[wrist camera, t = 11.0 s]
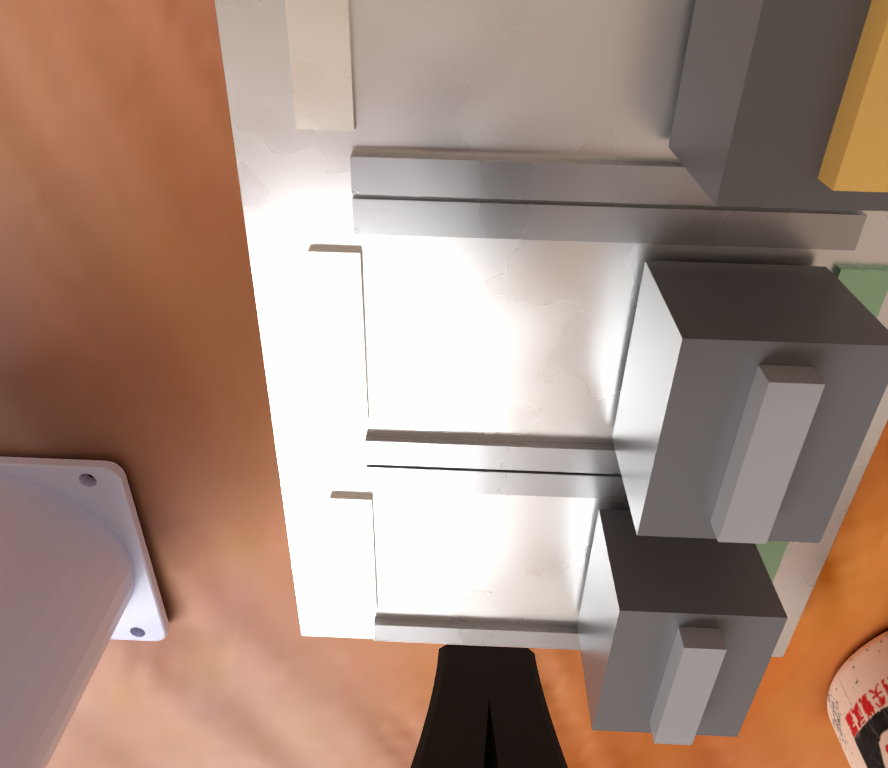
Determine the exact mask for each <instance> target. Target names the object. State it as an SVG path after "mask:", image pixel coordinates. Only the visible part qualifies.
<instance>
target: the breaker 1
mask: <svg viewBox="0 0 888 768" xmlns="http://www.w3.org/2000/svg"><path fill="white" fill-rule="evenodd" d="M887 385H888V330H887V328H886V327H885V326H884V325H883V324H882V323H881V322H880V321H879V320H878V319H877V318H876V317H875V316H874V315H873V314H872V313H871V312H870V311H869V310H868V309H867V308H866V307H865V306H864V305H863V304H862V303H861V302H860V301H859V300H858V299H857V298H856V297H855V296H854V295H853V294H852V293H851V292H850V291H849V290H848V288H847V287H846V286H845V285H844V284H843V283H842V282H841V281H840V280H839V279H838V278H837V277H836V276H835V275H834V274H833V273H832V272H831V271H830V270H829V269H828V268H827V267H823V266H793V265H763V264H733V263H703V262H673V261H645V264H644V269H643V275H642V280H641V285H640V291H639V296H638V301H637V307H636V312H635V318H634V323H633V328H632V334H631V339H630V345H629V350H628V355H627V361H626V366H625V371H624V377H623V382H622V388H621V393H620V398H619V404H618V409H617V414H616V420H615V425H614V431H613V436H612V440H613V444H614V448H615V452H616V456H617V460H618V464H619V468H620V471H621V475H622V479H623V483H624V487H625V491H626V495H627V499H628V503H629V507H630V511H631V514H632V518H633V522H634V526H635V530H636V534H637V536H661V537H686V538H710V539H717V540H718V542H731V543H755V544H766V543H767V541H784V542H808V543H820V542H821V539H822V537H823V535H824V532H825V530H826V527H827V525H828V523H829V520H830V518H831V516H832V513H833V511H834V509H835V506H836V504H837V502H838V499H839V497H840V495H841V492H842V490H843V488H844V485H845V483H846V481H847V478H848V476H849V474H850V471H851V469H852V467H853V464H854V462H855V460H856V457H857V455H858V453H859V450H860V448H861V446H862V443H863V441H864V439H865V436H866V434H867V432H868V429H869V427H870V425H871V422H872V420H873V418H874V415H875V413H876V411H877V408H878V406H879V404H880V401H881V399H882V396H883V394H884V392H885V389H886V387H887Z"/></svg>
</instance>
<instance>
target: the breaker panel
mask: <svg viewBox="0 0 888 768" xmlns="http://www.w3.org/2000/svg"><path fill="white" fill-rule="evenodd" d="M695 2H696V0H215V7H216V14H217V22H218V29H219V36H220V44H221V51H222V58H223V66H224V73H225V80H226V87H227V95H228V102H229V109H230V117H231V124H232V131H233V139H234V146H235V153H236V161H237V168H238V175H239V182H240V190H241V197H242V204H243V212H244V219H245V226H246V234H247V241H248V248H249V255H250V263H251V270H252V277H253V285H254V292H255V299H256V307H257V314H258V321H259V329H260V336H261V343H262V350H263V358H264V365H265V372H266V380H267V387H268V394H269V402H270V409H271V416H272V423H273V431H274V438H275V445H276V453H277V460H278V467H279V475H280V482H281V489H282V496H283V504H284V511H285V518H286V526H287V533H288V540H289V548H290V555H291V562H292V570H293V577H294V584H295V591H296V599H297V606H298V613H299V621H300V628H301V635H302V636H320V637H342V638H365V639H375V641H390V642H413V643H435V644H458V645H481V646H503V647H526V648H549V649H571V650H581V649H580V642H579V635H578V628H577V624H578V619H579V613H580V608H581V603H582V597H583V592H584V587H585V581H586V576H587V570H588V565H589V560H590V554H591V549H592V544H593V538H594V533H595V527H596V522H597V517H598V511H599V509H604V510H628V511H630V507H629V503H628V499H627V495H626V491H625V487H624V483H623V479H622V475H621V471H620V468H619V464H618V460H617V456H616V452H615V448H614V444H613V440H612V436H613V431H614V425H615V420H616V414H617V409H618V404H619V398H620V393H621V388H622V382H623V377H624V371H625V366H626V361H627V355H628V350H629V345H630V339H631V334H632V328H633V323H634V318H635V312H636V307H637V301H638V296H639V291H640V285H641V280H642V275H643V269H644V264H645V261H673V262H703V263H733V264H763V265H793V266H823V267H827V268H828V269H829V270H830V271H831V272H832V273H833V274H834V275H835V276H836V277H837V278H838V279H839V280H840V281H841V282H842V283H843V284H844V285H845V286H846V287H847V288H848V290H849V291H850V292H851V293H852V294H853V295H854V296H855V297H856V298H857V299H858V300H859V301H860V302H861V303H862V304H863V305H864V306H865V307H866V308H867V309H868V310H869V311H870V312H871V313H872V314H873V315H874V316H875V317H876V318H877V319H878V320H879V321H880V322H881V323H882V324H883V325H884V326H885V327H886V328H887V330H888V211H863V210H831V209H800V208H768V207H737V206H715V204H714V203H713V202H712V201H711V199H710V198H709V197H708V196H707V194H706V193H705V192H704V191H703V189H702V188H701V187H700V186H699V184H698V183H697V182H696V181H695V180H694V178H693V177H692V176H691V175H690V173H689V172H688V171H687V170H686V168H685V167H684V166H683V165H682V163H681V162H680V161H679V160H678V158H677V157H676V156H675V155H674V153H673V152H672V151H671V150H670V148H669V147H668V146H669V140H670V135H671V130H672V124H673V119H674V114H675V108H676V103H677V98H678V92H679V87H680V82H681V76H682V71H683V66H684V60H685V55H686V50H687V44H688V39H689V34H690V28H691V23H692V18H693V12H694V7H695ZM887 420H888V385H887V387H886V389H885V392H884V394H883V396H882V399H881V401H880V404H879V406H878V408H877V411H876V413H875V415H874V418H873V420H872V422H871V425H870V427H869V429H868V432H867V434H866V436H865V439H864V441H863V443H862V446H861V448H860V450H859V453H858V455H857V457H856V460H855V462H854V464H853V467H852V469H851V471H850V474H849V476H848V478H847V481H846V483H845V485H844V488H843V490H842V492H841V495H840V497H839V499H838V502H837V504H836V506H835V509H834V511H833V513H832V516H831V518H830V520H829V523H828V525H827V527H826V530H825V532H824V535H823V537H822V539H821V542H820V543H808V542H784V541H767V543H766V544H756V546H757V549H758V551H759V553H760V555H761V558H762V560H763V562H764V565H765V567H766V569H767V571H768V574H769V576H770V578H771V581H772V583H773V585H774V587H775V590H776V592H777V594H778V596H779V599H780V601H781V603H782V606H783V608H784V610H785V612H786V615H787V617H788V619H787V621H786V623H785V626H784V628H783V630H782V633H781V635H780V637H779V640H778V642H777V644H776V647H775V649H774V651H773V654H772V656H774V657H783V655H784V653H785V651H786V649H787V646H788V644H789V642H790V640H791V637H792V635H793V633H794V630H795V628H796V626H797V624H798V621H799V619H800V617H801V615H802V612H803V610H804V608H805V606H806V603H807V601H808V599H809V597H810V594H811V592H812V590H813V587H814V585H815V583H816V581H817V578H818V576H819V574H820V572H821V569H822V567H823V565H824V563H825V560H826V558H827V556H828V553H829V551H830V549H831V547H832V544H833V542H834V540H835V538H836V535H837V533H838V531H839V529H840V526H841V524H842V522H843V520H844V517H845V515H846V513H847V510H848V508H849V506H850V504H851V501H852V499H853V497H854V495H855V492H856V490H857V488H858V486H859V483H860V481H861V479H862V476H863V474H864V472H865V470H866V467H867V465H868V463H869V461H870V458H871V456H872V454H873V452H874V449H875V447H876V445H877V443H878V440H879V438H880V436H881V433H882V431H883V429H884V427H885V424H886V422H887Z"/></svg>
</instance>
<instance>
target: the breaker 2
mask: <svg viewBox="0 0 888 768" xmlns="http://www.w3.org/2000/svg"><path fill="white" fill-rule="evenodd" d="M787 619H788V617H787V615H786V612H785V610H784V608H783V606H782V603H781V601H780V599H779V596H778V594H777V592H776V590H775V587H774V585H773V583H772V581H771V578H770V576H769V574H768V571H767V569H766V567H765V565H764V562H763V560H762V558H761V555H760V553H759V551H758V549H757V546H756V544H755V543H731V542H718V540H717V539H710V538H686V537H661V536H637V534H636V530H635V526H634V522H633V518H632V514H631V511H628V510H604V509H599V511H598V517H597V522H596V527H595V533H594V538H593V544H592V549H591V554H590V560H589V565H588V570H587V576H586V581H585V587H584V592H583V597H582V603H581V608H580V613H579V619H578V624H577V628H578V635H579V642H580V649H581V656H582V663H583V670H584V677H585V684H586V691H587V698H588V706H589V713H590V720H591V727H592V730H603V731H624V732H646V733H652V737H653V741H654V743H660V744H682V745H692V743H693V740H694V737H695V735H711V736H733V737H737V736H738V733H739V731H740V729H741V726H742V724H743V722H744V719H745V717H746V715H747V712H748V710H749V708H750V705H751V703H752V701H753V698H754V696H755V694H756V691H757V689H758V687H759V684H760V682H761V680H762V677H763V675H764V673H765V670H766V668H767V666H768V663H769V661H770V658H771V656H772V654H773V651H774V649H775V647H776V644H777V642H778V640H779V637H780V635H781V633H782V630H783V628H784V626H785V623H786V621H787Z"/></svg>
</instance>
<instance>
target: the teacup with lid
mask: <svg viewBox="0 0 888 768" xmlns="http://www.w3.org/2000/svg"><path fill="white" fill-rule="evenodd" d="M827 710H828V714H829V718H830V721H831V723H832V725H833V728H834V730H835V732H836V734H837V737H838V739H839V741H840V744H841V746H842V748H843V751H844V753H845V755H846V757H847V760H848V762H849V764H850V767H851V768H888V631H886V632H884V633H882V634H880V635H879V636H877V637H875V638H874V639H872V640H871V641H869V642H868V643H866V644H865V645H864V646H862V647H861V648H859V649H858V650H857V651H856V652H855V653H854V654H852V655H851V656H850V657H849V658H848V659H847V660H846V661H845V662H844V664H843V665H842V666H841V667H840V669H839V670H838V671H837V673H836V675H835V676H834V678H833V680H832V683H831V685H830V688H829V691H828V696H827Z"/></svg>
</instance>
